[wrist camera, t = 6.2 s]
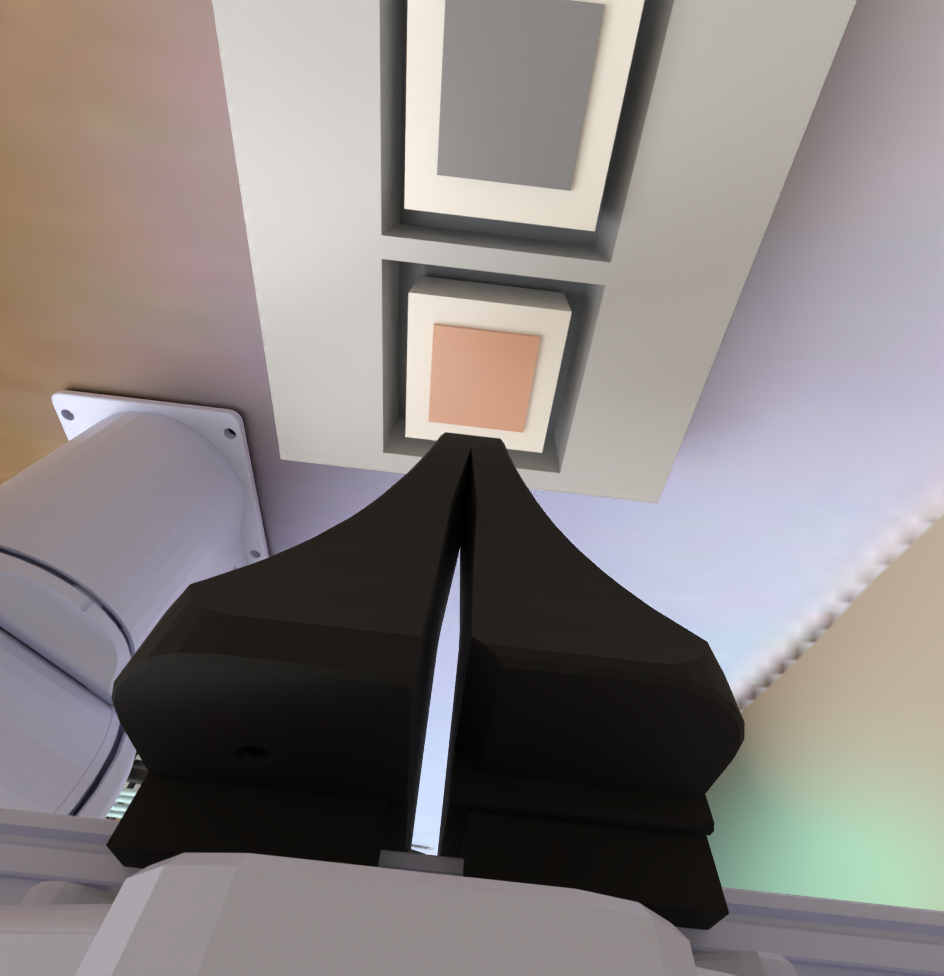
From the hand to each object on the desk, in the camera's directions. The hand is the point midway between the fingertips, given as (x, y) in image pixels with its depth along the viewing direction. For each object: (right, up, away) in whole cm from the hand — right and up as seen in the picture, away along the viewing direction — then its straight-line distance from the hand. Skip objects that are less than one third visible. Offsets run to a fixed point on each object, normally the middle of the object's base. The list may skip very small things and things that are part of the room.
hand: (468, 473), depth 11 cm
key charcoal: (+1, +10, +2) cm, 10 cm away
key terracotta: (+1, +4, +7) cm, 8 cm away
